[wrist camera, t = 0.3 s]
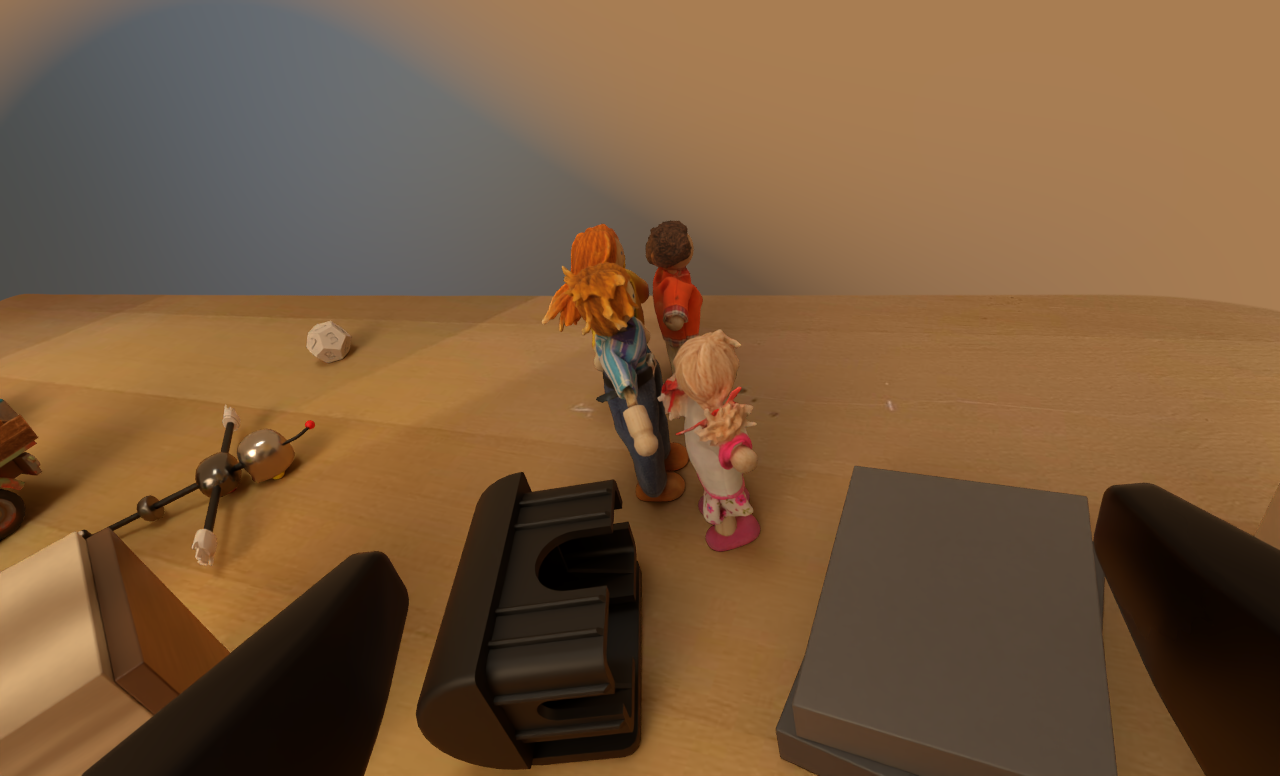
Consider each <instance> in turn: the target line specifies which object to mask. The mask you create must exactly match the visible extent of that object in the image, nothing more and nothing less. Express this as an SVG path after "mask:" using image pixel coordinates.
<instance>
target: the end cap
mask: <svg viewBox="0 0 1280 776" xmlns="http://www.w3.org/2000/svg"><path fill="white" fill-rule="evenodd" d="M615 509H622V499H621V496H620V493H619V490H618V487H617V483H616V481H615V480H607V481H601V482H594V483H588V484H581V485H575V486H568V487H562V488H555V489H548V490H542V491H535V492H532V491H531V489H530V486H529V484H528V482H527V479H526V477H525V474H524V473H523V472H520V473H515V474H511V475H508V476H506V477H504V478H501V479H499V480H498V481H496V482H495V483H493V484H492V485H490V486H489V487H488V488H487V489H486V490H485V491H484V492H483V494H482V495H481V497H480V499H479V501H478V503H477V505H476V509H475V512H474V515H473V519H472V522H471V525H470V529H469V532H468V536H467V539H466V542H465V546H464V549H463V552H462V556H461V559H460V562H459V566H458V569H457V573H456V576H455V579H454V583H453V586H452V589H451V593H450V596H449V599H448V603H447V606H446V610H445V613H444V616H443V620H442V623H441V626H440V630H439V633H438V636H437V640H436V643H435V647H434V650H433V653H432V657H431V660H430V663H429V667H428V670H427V673H426V677H425V680H424V683H423V687H422V690H421V694H420V697H419V700H418V704H417V710H416V718H417V723H418V727H419V728H420V730H421V732H422V733H423V735H424V736H425V738H426V739H427V740H428V741H429V742H430V743H431V744H432V745H434V746H435V747H437V748H438V749H439V750H441V751H442V752H444V753H446V754H448V755H450V756H452V757H454V758H456V759H459V760H462V761H465V762H468V763H471V764H475V765H479V766H483V767H489V768H496V769H511V770H518V769H530V768H531V766H532V765H548V764H558V763H568V762H579V761H589V760H599V759H609V758H620V757H626V756H629V755H631V754H633V753H634V752H635V751H636V750H637V748H638V747H639V743H640V740H641V570H640V566H639V563H638V561H637V560H636V547H635V541H634V538H633V534H632V531H631V528H630V525H629V522H623V523H616V524H613V521H614V510H615Z"/></svg>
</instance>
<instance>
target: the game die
mask: <svg viewBox="0 0 1280 776" xmlns="http://www.w3.org/2000/svg"><path fill="white" fill-rule="evenodd" d="M350 343H351V336H350V335H349V334H348V333H347V332H346V331H345V330H344V329H343V328H342V327H340V326H338V325H337V324H335V323H333V322H332V321H328V322H325V323H321V324H318V325H315V326H314V327H313V328H312V329H311V330H310V331H309V332H308V337H307V345H306V348H307V349H308V350H309V351H310V352H311V353H312V354H313V355H314V356H315V357H317V358H319V359H321V360H323V361H325V362H327V363H330V362H333V361H337V360H340V359H343V358H344V357H345V355H346V354H347V353H348V352H349V350H350Z"/></svg>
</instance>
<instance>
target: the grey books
mask: <svg viewBox="0 0 1280 776" xmlns="http://www.w3.org/2000/svg"><path fill="white" fill-rule="evenodd" d="M1104 582H1105V575H1104V573H1103V570H1102V568H1101V566H1100V564H1099V561H1098V559H1097V556H1096V553H1095V549H1094V541H1092V535H1091V525H1090V516H1089V507H1088V498H1087V497H1086V496H1080V495H1073V494H1065V493H1058V492H1050V491H1043V490H1035V489H1027V488H1020V487H1012V486H1005V485H997V484H990V483H982V482H974V481H967V480H959V479H952V478H944V477H937V476H929V475H921V474H914V473H906V472H899V471H891V470H884V469H876V468H868V467H861V466H854V469H853V473H852V477H851V481H850V485H849V489H848V492H847V496H846V500H845V504H844V508H843V511H842V515H841V519H840V523H839V527H838V531H837V534H836V538H835V542H834V546H833V550H832V553H831V557H830V561H829V565H828V569H827V573H826V576H825V580H824V584H823V588H822V592H821V596H820V599H819V603H818V607H817V611H816V615H815V618H814V622H813V626H812V630H811V634H810V638H809V641H808V645H807V649H806V653H805V656H804V658H803V661H802V663H801V666H800V669H799V671H798V674H797V676H796V679H795V681H794V684H793V686H792V689H791V691H790V694H789V696H788V699H787V701H786V704H785V706H784V709H783V712H782V714H781V717H780V719H779V722H778V724H777V727H776V735H777V740H778V746H779V752H780V757H781V758H783V759H785V760H787V761H789V762H791V763H793V764H796V765H798V766H800V767H802V768H804V769H806V770H809V771H811V772H813V773H815V774H817V775H819V776H1118V775H1117V766H1116V757H1115V747H1114V738H1113V729H1112V720H1111V710H1110V701H1109V692H1108V683H1107V673H1106V664H1105V655H1104V646H1103V636H1102V630H1103V606H1104Z"/></svg>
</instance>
